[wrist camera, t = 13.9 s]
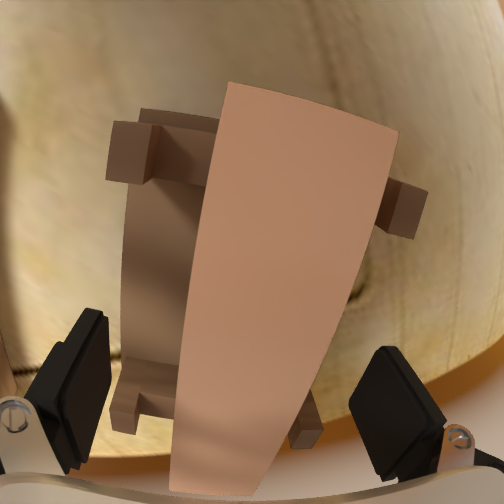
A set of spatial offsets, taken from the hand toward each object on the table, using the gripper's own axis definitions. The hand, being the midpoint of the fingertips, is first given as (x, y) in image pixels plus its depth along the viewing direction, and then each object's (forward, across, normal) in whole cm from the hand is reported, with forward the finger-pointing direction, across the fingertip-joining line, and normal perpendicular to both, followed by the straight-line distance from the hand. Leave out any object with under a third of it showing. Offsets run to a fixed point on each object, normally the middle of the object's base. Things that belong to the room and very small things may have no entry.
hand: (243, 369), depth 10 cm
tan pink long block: (+3, 0, 0) cm, 3 cm away
